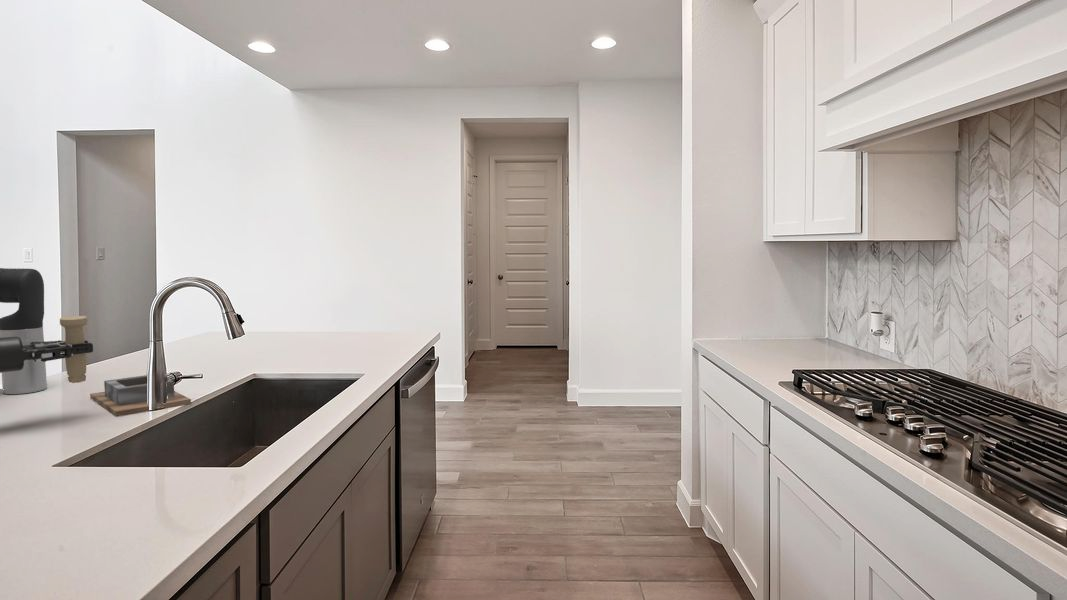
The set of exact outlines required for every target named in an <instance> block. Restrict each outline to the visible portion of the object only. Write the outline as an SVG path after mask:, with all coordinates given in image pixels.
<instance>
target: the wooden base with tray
mask: <svg viewBox="0 0 1067 600" xmlns="http://www.w3.org/2000/svg"><path fill="white" fill-rule="evenodd" d="M147 375H148V374H145V375H138V376H130V377H122V378H116V379H109V380H104V381H103V383H104V384H103V385H104V391H101V392H94V393H90V394H89V395H90V398H89V399H91V400H92V399H93V400H94V401H93V400H92V401H93V402H95V401H96V402H97V404H98V405H99V406H101V407H102V408H104V410H106V411H107V412H108V413H110V414H112V415H113V416H115V417H116V418H117V417H123V416H128V415H134V414H139V413H146V412H150V411H149V406H148V404H147ZM168 379H169V380H168V382H167V396H168V399H167V402H166V403H163V404H158V405H159V406H162V405H163V406H164V407H163V409H167V408H174V407H180V406H185V405H191V404H192V399H191V398H189V397H188V396H185V395H184V394H182V393H180V392H178V391H175V382H174V381H173V380H172V379H170V378H168ZM96 402H95V403H96ZM158 405H157V406H158ZM160 408H161V407H160Z"/></svg>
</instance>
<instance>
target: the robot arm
mask: <svg viewBox="0 0 1067 600" xmlns="http://www.w3.org/2000/svg"><path fill="white" fill-rule="evenodd" d="M44 283H45V282H44V280H43V276H42V274H41V273H40V271H38V270H37V269H35V268H6V267H5V268H4V267H0V303H1V304H2V303H4V304H18V309H17V310H16V311H15V312H13V313H12V314H9V315H6V316H2V317H0V374H1V384H2V386H1V387H2V393H3V394H5V395H21V394H29V393H36V392H40V391H44V390H46V389H47V388H48V383H47V381H48V380H47V368H46V366H47V365H46V364H47V363H46V362H50V361H56V360H61V359H65V358H70V357H72V355H73V354H82V353H86V354H90V353H91V354H92V353H93V352H94V345H93V343H91V342H89V341H88V340H86V339H84V343H83V344H68V345H65V340H60V339H58V340H48V341H45V339H44V338H45V337H44V322H43V321H44V317H45V284H44ZM3 389H4V390H3Z"/></svg>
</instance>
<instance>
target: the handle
mask: <svg viewBox="0 0 1067 600" xmlns="http://www.w3.org/2000/svg"><path fill="white" fill-rule="evenodd" d="M87 324H88V318H87V316H86V315H72V316H64V317H61V318H59V325H60V326H61V327H63V328H64V331H65V332H64V333H65V334H64V335H65V340H64V341H65V345H68V344H83V343H84V341H85V337H84V326H86V325H87ZM64 359H65V369H66V374H67V381H68V383H71V384H75V383H76V384H77V383H78V384H80V383H82V382H85V381H86V380H87V375H86V373H87V353H82V354H73V355H72V357H70V358H64Z"/></svg>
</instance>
